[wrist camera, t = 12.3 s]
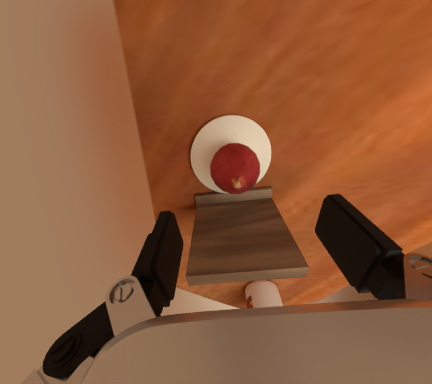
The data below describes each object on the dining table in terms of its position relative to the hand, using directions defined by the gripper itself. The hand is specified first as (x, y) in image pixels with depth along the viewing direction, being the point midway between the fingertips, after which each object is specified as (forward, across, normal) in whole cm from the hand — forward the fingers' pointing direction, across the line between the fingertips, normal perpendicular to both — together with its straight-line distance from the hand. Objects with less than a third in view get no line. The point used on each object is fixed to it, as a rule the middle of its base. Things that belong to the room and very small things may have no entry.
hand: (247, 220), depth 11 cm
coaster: (+15, 0, +2) cm, 15 cm away
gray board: (+14, 0, +10) cm, 17 cm away
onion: (+14, 0, +1) cm, 14 cm away
